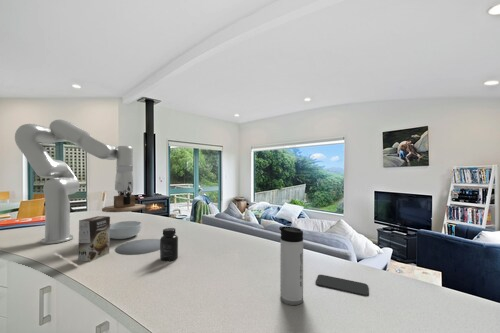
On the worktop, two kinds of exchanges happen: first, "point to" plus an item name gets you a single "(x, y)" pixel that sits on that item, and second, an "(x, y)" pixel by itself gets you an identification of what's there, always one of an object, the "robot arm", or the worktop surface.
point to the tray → (138, 247)
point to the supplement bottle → (169, 245)
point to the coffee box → (93, 238)
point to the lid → (121, 207)
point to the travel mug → (291, 265)
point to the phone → (342, 285)
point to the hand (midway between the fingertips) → (124, 203)
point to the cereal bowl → (124, 229)
